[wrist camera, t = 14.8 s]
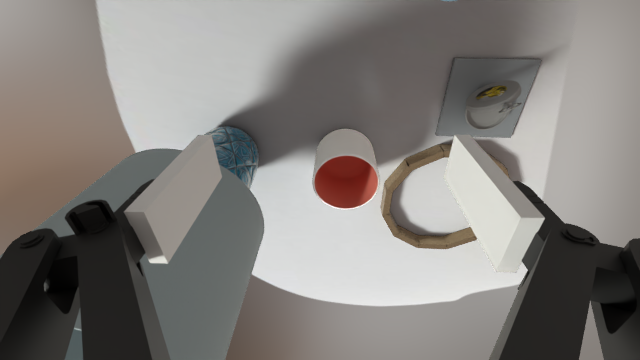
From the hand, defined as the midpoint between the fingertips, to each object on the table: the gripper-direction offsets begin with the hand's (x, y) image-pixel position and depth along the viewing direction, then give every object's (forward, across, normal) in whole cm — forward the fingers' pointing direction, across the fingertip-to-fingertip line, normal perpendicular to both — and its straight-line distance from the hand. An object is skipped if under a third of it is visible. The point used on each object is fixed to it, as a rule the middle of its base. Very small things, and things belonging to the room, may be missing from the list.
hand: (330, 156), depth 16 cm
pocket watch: (+31, +23, -7) cm, 39 cm away
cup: (+32, +2, -16) cm, 36 cm away
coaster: (+31, +23, -7) cm, 40 cm away
